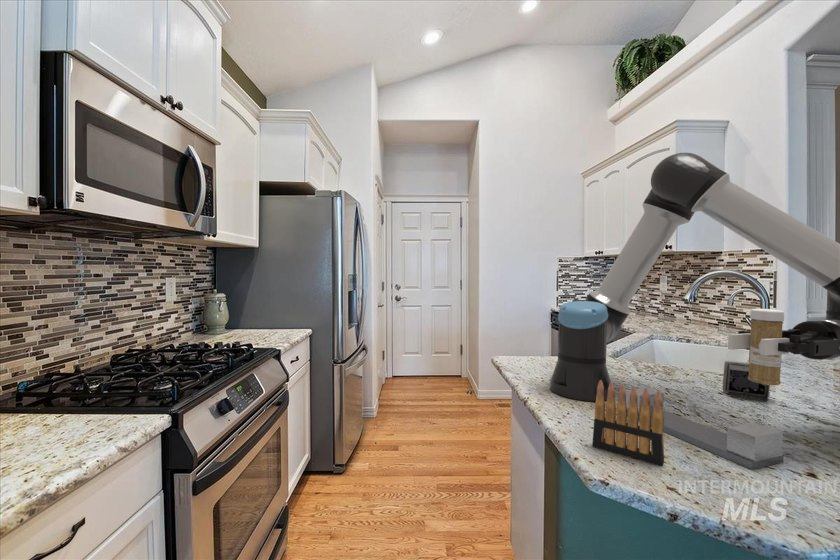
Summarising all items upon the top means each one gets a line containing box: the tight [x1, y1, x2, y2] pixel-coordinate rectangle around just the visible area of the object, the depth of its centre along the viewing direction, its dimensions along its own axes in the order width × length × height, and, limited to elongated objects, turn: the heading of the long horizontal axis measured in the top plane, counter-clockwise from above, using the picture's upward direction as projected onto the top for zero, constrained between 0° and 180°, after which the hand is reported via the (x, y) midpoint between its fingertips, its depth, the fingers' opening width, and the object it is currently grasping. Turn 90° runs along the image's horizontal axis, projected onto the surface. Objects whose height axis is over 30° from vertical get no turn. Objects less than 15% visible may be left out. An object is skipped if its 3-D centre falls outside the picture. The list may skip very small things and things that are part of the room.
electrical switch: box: [722, 359, 771, 402], centre depth 96 cm, size 9×5×9 cm, turn 57°
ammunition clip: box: [591, 380, 665, 467], centre depth 65 cm, size 11×2×12 cm, turn 52°
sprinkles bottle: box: [748, 308, 785, 386], centre depth 69 cm, size 5×5×13 cm
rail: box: [625, 387, 785, 470], centre depth 73 cm, size 25×8×5 cm, turn 19°
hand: (746, 344), depth 67 cm, fingers closed on sprinkles bottle, 4 cm apart
